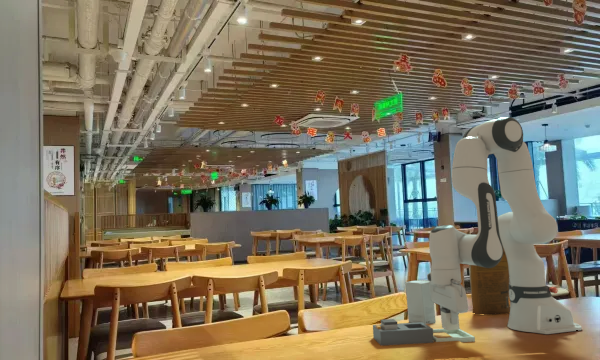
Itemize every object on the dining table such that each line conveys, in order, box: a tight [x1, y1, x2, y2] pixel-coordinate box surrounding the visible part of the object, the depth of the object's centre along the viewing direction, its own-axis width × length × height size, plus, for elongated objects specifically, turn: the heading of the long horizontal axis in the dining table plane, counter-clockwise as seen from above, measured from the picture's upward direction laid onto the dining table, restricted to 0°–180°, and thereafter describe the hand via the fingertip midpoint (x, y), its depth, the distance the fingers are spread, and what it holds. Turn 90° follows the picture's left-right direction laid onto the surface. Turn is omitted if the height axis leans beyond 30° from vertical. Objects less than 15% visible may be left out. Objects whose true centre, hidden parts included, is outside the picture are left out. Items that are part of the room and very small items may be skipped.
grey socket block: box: [372, 322, 435, 347], centre depth 144 cm, size 16×9×6 cm, turn 95°
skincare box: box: [404, 280, 437, 325], centre depth 172 cm, size 8×6×15 cm
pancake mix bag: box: [468, 248, 510, 315], centre depth 184 cm, size 7×19×28 cm, turn 99°
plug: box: [439, 307, 461, 330], centre depth 148 cm, size 4×4×6 cm
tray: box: [433, 328, 476, 343], centre depth 148 cm, size 12×12×2 cm
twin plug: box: [380, 318, 398, 330], centre depth 144 cm, size 4×4×6 cm
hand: (450, 322), depth 148 cm, fingers closed on plug, 4 cm apart
